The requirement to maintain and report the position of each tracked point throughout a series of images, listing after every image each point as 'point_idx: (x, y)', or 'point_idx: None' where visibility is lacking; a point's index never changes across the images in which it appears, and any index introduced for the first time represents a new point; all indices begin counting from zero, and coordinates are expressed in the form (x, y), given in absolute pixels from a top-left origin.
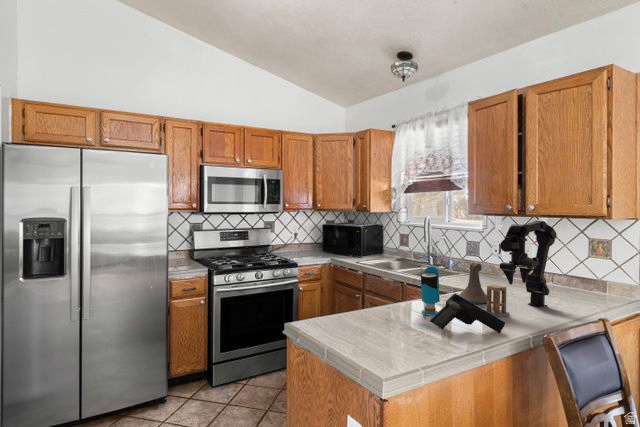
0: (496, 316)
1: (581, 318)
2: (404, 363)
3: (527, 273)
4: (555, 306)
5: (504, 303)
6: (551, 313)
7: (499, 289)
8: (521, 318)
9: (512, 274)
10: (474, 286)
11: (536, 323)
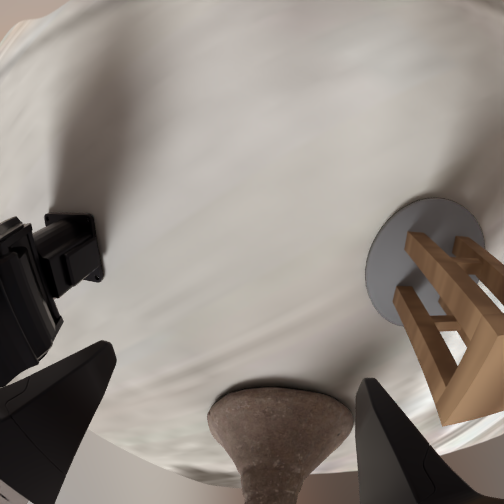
0: (478, 230)
1: (92, 10)
2: None
3: (15, 407)
4: (25, 199)
5: (447, 257)
6: (126, 110)
7: None
8: (408, 128)
9: (445, 494)
10: (298, 477)
11: (415, 36)
